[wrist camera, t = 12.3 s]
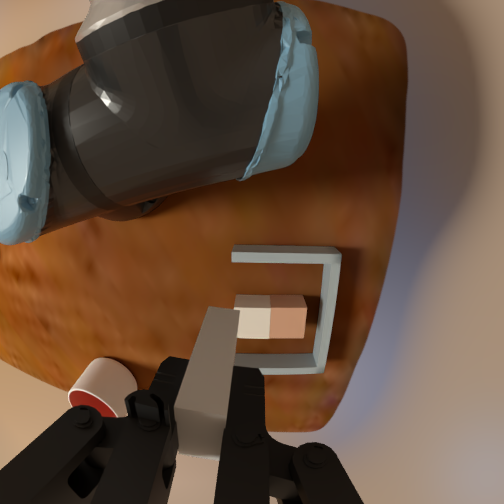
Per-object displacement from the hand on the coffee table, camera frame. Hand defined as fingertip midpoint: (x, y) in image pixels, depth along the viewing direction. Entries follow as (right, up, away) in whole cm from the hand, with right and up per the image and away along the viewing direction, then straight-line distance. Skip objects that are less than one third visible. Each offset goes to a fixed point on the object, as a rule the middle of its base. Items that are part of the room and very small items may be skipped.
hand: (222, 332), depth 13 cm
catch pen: (+6, -4, +25) cm, 26 cm away
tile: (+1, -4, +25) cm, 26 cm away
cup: (-24, -19, +30) cm, 42 cm away
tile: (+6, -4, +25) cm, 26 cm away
